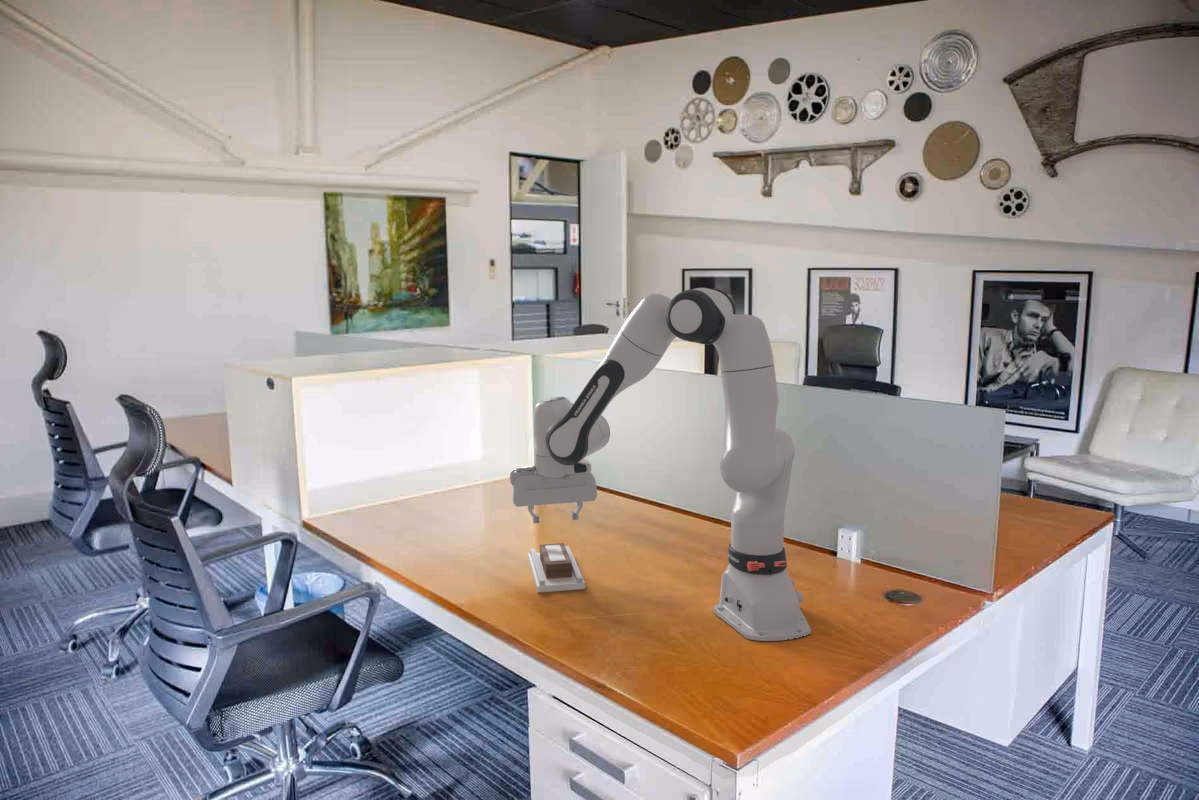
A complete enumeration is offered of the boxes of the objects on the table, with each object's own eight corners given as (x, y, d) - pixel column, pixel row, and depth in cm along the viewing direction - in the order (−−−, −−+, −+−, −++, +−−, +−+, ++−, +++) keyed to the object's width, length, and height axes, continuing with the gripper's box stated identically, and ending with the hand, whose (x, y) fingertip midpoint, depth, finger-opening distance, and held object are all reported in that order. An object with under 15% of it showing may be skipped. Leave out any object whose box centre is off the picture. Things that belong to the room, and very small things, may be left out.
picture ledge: (584, 588, 189) (584, 577, 189) (537, 592, 187) (537, 581, 187) (570, 555, 210) (570, 545, 210) (528, 558, 208) (528, 548, 208)
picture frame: (571, 577, 192) (571, 562, 192) (546, 579, 191) (546, 563, 191) (563, 556, 206) (563, 542, 205) (539, 558, 205) (539, 544, 204)
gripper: (510, 470, 189) (513, 528, 191) (597, 465, 193) (599, 521, 195) (508, 464, 195) (511, 520, 198) (593, 459, 199) (594, 514, 201)
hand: (555, 521), depth 196 cm, fingers open, 8 cm apart
